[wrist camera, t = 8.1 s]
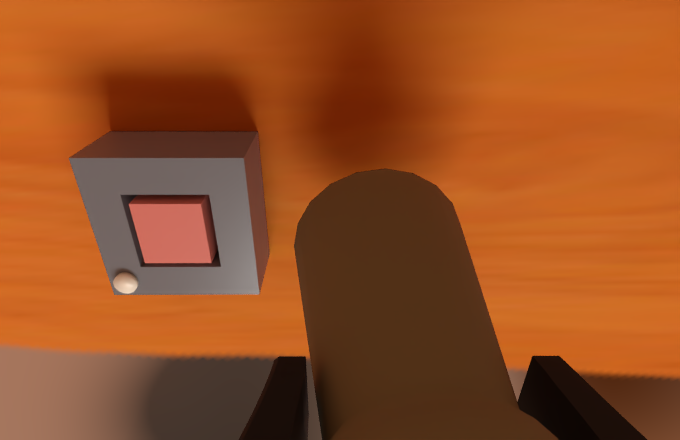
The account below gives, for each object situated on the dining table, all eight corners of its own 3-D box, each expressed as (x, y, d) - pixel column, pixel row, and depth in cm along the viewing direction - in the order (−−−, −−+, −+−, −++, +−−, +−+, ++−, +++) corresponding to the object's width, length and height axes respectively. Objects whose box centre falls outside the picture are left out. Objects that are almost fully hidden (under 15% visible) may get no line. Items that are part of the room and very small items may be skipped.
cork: (353, 332, 17) (399, 775, 8) (259, 230, 15) (144, 703, 5) (488, 261, 16) (757, 697, 6) (409, 133, 13) (662, 539, 3)
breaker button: (214, 181, 17) (200, 204, 15) (223, 236, 18) (211, 263, 16) (150, 181, 17) (128, 203, 15) (163, 236, 18) (144, 263, 16)
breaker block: (257, 131, 17) (242, 160, 14) (269, 253, 20) (258, 298, 17) (110, 131, 17) (64, 160, 14) (143, 254, 20) (111, 298, 17)
